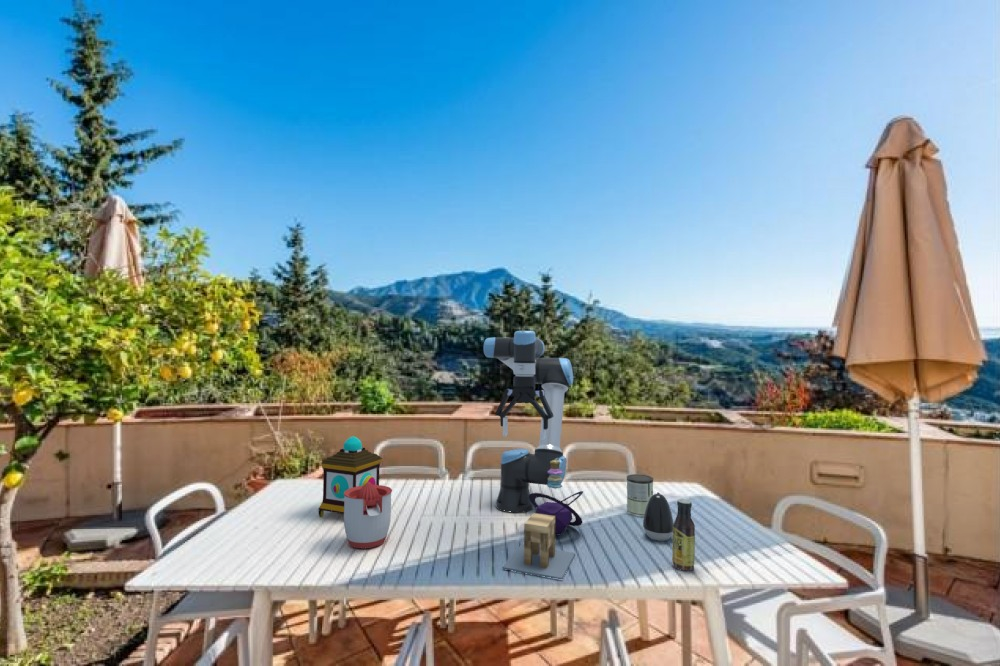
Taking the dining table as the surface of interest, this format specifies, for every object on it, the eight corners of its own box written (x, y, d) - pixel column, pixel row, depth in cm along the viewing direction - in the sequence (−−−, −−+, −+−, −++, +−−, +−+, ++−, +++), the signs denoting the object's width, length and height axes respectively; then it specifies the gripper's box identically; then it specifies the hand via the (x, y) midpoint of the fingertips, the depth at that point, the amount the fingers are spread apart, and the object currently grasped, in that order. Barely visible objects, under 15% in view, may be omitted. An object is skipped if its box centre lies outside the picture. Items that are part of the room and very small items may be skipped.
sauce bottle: (668, 562, 145) (668, 497, 145) (688, 562, 145) (688, 496, 146) (678, 572, 138) (678, 503, 139) (699, 572, 139) (698, 503, 139)
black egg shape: (673, 534, 167) (673, 491, 168) (674, 545, 158) (674, 499, 158) (643, 530, 171) (643, 488, 171) (642, 541, 161) (642, 496, 162)
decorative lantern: (312, 517, 180) (314, 438, 182) (347, 502, 199) (349, 430, 200) (355, 525, 173) (357, 442, 174) (387, 509, 191) (388, 434, 192)
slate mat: (502, 569, 139) (502, 566, 139) (521, 546, 156) (521, 544, 156) (562, 580, 132) (562, 577, 132) (575, 555, 149) (575, 552, 149)
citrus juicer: (347, 558, 145) (349, 492, 146) (338, 538, 161) (340, 478, 162) (397, 549, 153) (399, 486, 153) (384, 530, 168) (385, 474, 169)
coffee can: (624, 508, 196) (624, 473, 197) (650, 509, 195) (650, 474, 195) (629, 516, 186) (629, 480, 186) (656, 517, 185) (655, 481, 185)
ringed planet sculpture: (596, 531, 170) (597, 461, 171) (565, 549, 154) (565, 471, 155) (545, 516, 184) (545, 452, 185) (511, 532, 168) (512, 461, 169)
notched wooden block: (533, 551, 150) (533, 513, 150) (555, 554, 148) (555, 515, 148) (524, 564, 141) (524, 523, 141) (546, 568, 138) (547, 526, 139)
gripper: (486, 375, 164) (486, 436, 163) (557, 377, 155) (556, 442, 154) (494, 374, 171) (494, 433, 170) (562, 376, 162) (562, 438, 161)
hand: (523, 437), depth 162 cm, fingers open, 13 cm apart
